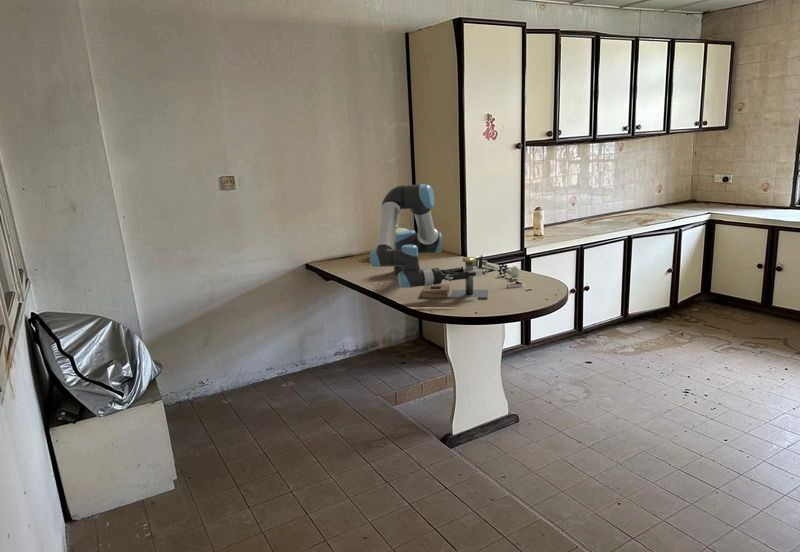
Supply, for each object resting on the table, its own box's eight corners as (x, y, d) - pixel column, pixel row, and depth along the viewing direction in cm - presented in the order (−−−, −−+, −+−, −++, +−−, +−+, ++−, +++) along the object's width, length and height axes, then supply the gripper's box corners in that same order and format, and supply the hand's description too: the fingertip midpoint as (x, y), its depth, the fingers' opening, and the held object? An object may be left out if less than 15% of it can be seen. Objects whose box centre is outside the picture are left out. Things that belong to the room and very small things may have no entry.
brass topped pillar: (462, 292, 268) (462, 256, 264) (476, 292, 267) (476, 256, 263) (462, 295, 262) (461, 259, 258) (475, 296, 261) (476, 259, 256)
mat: (452, 292, 273) (452, 290, 273) (488, 291, 270) (487, 289, 270) (450, 299, 261) (450, 297, 260) (487, 299, 258) (487, 297, 257)
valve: (522, 279, 290) (507, 274, 300) (522, 266, 288) (507, 262, 298) (512, 281, 287) (497, 276, 297) (512, 268, 285) (497, 264, 295)
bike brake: (463, 268, 317) (485, 279, 302) (464, 256, 315) (487, 267, 299) (482, 264, 324) (505, 275, 308) (483, 253, 322) (506, 264, 306)
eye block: (425, 292, 275) (424, 284, 274) (449, 292, 273) (449, 284, 272) (421, 299, 264) (421, 291, 263) (447, 299, 261) (447, 291, 261)
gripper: (426, 280, 268) (472, 274, 272) (438, 289, 250) (486, 283, 255) (425, 264, 266) (472, 259, 271) (437, 273, 248) (486, 267, 253)
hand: (479, 271), depth 263 cm, fingers open, 5 cm apart
